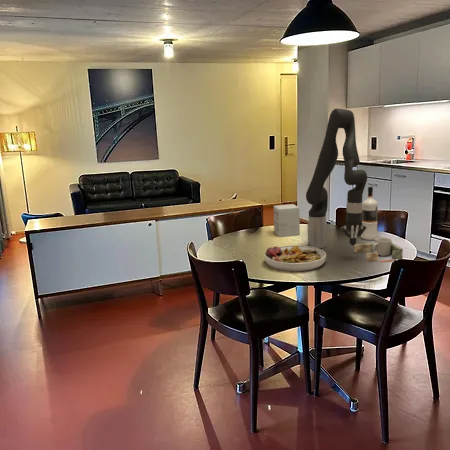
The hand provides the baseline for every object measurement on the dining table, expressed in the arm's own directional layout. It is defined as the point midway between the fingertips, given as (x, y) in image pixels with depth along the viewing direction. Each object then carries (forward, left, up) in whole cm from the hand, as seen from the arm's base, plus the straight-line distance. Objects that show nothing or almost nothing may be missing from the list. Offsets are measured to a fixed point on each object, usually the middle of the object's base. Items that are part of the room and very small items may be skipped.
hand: (352, 244), depth 218 cm
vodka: (+23, +31, -7) cm, 39 cm away
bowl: (-30, 0, -7) cm, 30 cm away
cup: (+15, 0, -7) cm, 16 cm away
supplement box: (-19, +57, -7) cm, 60 cm away
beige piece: (+12, 0, -7) cm, 14 cm away
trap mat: (+13, -10, -7) cm, 18 cm away
